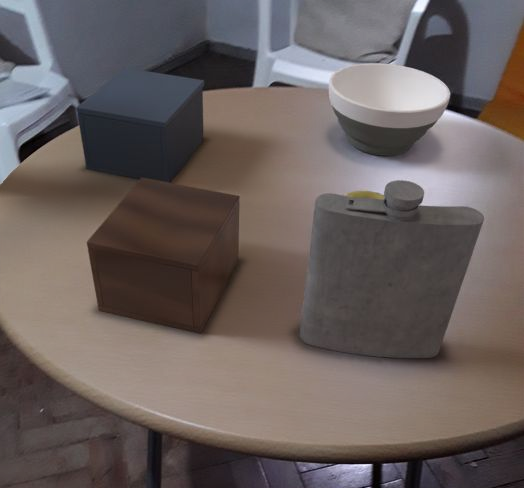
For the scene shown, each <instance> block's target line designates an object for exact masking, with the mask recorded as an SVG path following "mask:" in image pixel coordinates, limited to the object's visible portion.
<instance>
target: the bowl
mask: <svg viewBox="0 0 524 488" xmlns="http://www.w3.org/2000/svg"><path fill="white" fill-rule="evenodd" d="M328 98H329V102H330V104H331V107H332V110H333V112H334V114H335V116H336V117H337V122H338V124H339V126H340V128H341V129H342V131H343V132H344V133H345V136H346V139H347V141H348V144H350V145H351V146H353V147H354V148H356V149H357V150H359V151H361V152H364V153H366V154H369V155H370V154H371V155H375V156H397V155H400V154H403V153H405V152H408V151H409V150H410V149H411V148H412V147H413V145H414V144H415V143H416V142H418V141H419V140H420V139H421V138H422V137H423V138H424V136H425V135H426V133H427V132H428V131H429V130H430V129H431V128H433V126H434V125H436V123H437V122H438V121H439V119H441V118H442V116H443V115H444V113H445V111H446V109H447V107H448V105H449V101H450V98H451V91H450V89H449V87H448V86H447V84H445V83H444V82H443V81H442V80H441V79H439V78H437V77H436V76H434V75H432V74H431V73H428V72H425V71H423V70H420V69H416V68H414V67H413V68H412V67H408V66H405V65H398V64H390V63H380V62H379V63H374V62H373V63H369V62H368V63H358V64H352V65H348V66H345V67H342V68H339V69H337V70H335V71H334V73H332V74H331V75H330V77H329V79H328Z"/></svg>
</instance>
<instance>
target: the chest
mask: <svg viewBox="0 0 524 488" xmlns="http://www.w3.org/2000/svg"><path fill="white" fill-rule="evenodd" d="M203 91H204V87H202V88H201V89H200V90H199V92H198V93H197V94H196V95H195V96H194V97H193V98H192V99H191V100H190V101H189V103H188V104H187V105H186V106H185V107H184V108H183V109H182V110H181V111H180V113H179V114H178V115H177V116H176V117H175V118H174V119H173V120H172V121H171V122H170V124H169V125H168V126H167V127H166V128H162V127H157V126H151V125H145V124H139V123H134V122H128V121H122V120H116V119H111V118H105V117H99V116H93V115H88V114H82V113H77V112H76V113H77V120H78V125H79V131H80V137H81V138H80V139H81V145H82V150H83V157H84V162H85V163H84V164H85V169H86V170H90V171H96V172H101V173H107V174H112V175H116V176H122V177H126V178H127V177H128V178H132V179H137V180H140V179H141V178H148V179H153V180H158V181H164V182H169V183H172V181H173V180H174V179H175V177H176V176H177V175H178V173H179V172H181V170H182V169H183V167H184V166H185V165H186V163H187V162H188V161H189V160H190V158H191V157H192V156H193V154H194V153H195V152H196V151H197V149H198V148H199V147H200V145H201V144H202V143H203V141H204V96H203V95H204V93H203Z"/></svg>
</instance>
